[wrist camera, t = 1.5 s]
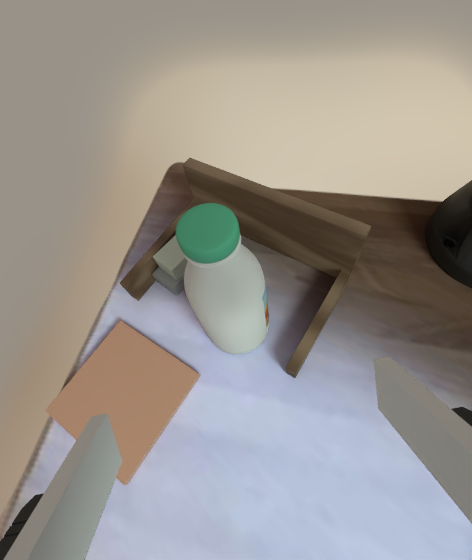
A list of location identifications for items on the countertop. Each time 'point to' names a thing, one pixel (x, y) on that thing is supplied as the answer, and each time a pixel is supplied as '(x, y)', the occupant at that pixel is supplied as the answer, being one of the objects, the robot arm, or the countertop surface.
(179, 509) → the countertop surface
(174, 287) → the offcut lower
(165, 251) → the offcut upper
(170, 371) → the tile pad
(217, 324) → the milk bottle
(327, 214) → the frame
